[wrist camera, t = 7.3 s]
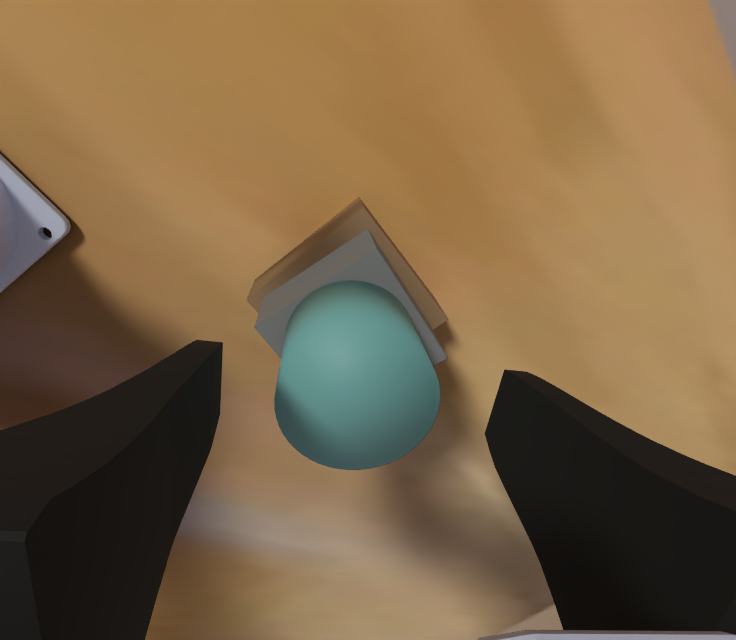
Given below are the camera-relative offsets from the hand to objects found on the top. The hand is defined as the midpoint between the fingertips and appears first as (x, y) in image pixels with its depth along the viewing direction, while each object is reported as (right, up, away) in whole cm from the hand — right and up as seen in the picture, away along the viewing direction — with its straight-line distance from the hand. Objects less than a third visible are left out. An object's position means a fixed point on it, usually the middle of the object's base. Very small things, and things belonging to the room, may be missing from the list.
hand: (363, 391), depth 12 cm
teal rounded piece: (-1, +1, +5) cm, 5 cm away
